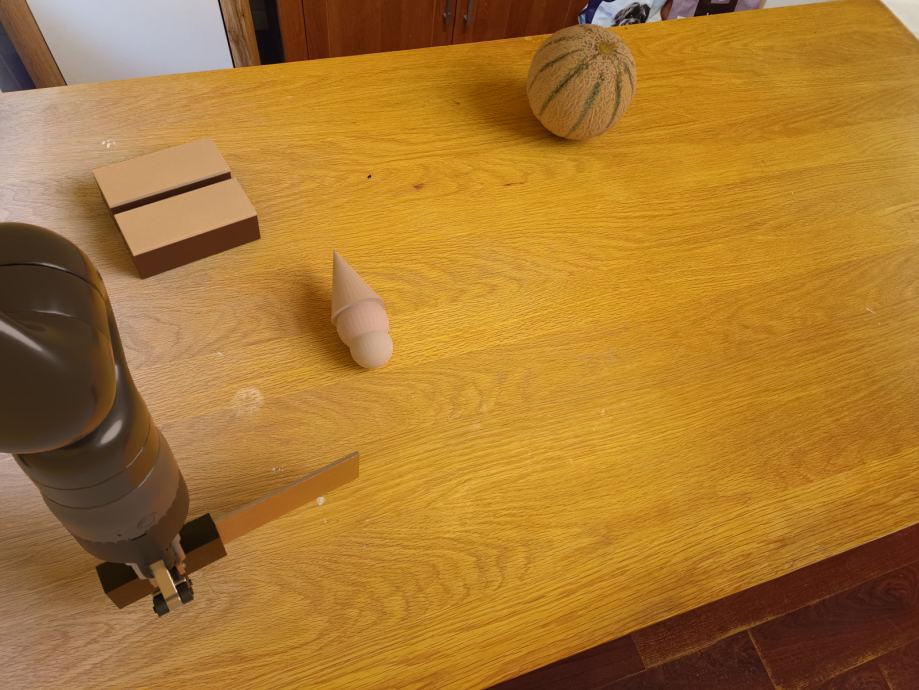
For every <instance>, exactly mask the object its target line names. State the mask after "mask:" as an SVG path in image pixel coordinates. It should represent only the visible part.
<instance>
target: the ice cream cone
mask: <svg viewBox="0 0 919 690" xmlns="http://www.w3.org/2000/svg"><path fill="white" fill-rule="evenodd" d="M332 252H333V253H332V280H331V281H332V282H331V285H332V286H331V311H330V313H331V314H330V315H331V316H330V319H331V320H330V323H331V325H332V326H333V327H335V328H336V331H337V334H338V337H339V340H341V341H342V343H343V344H344V345H345V346H347V347H348V348H349V352H350V356H351V357H352V359H353V361H355V363H356V364H357V365H359V366H360V367H362V368H365V369H369V370H371V369H373V370H374V369H375V370H376V369H378V368H381V367H383V366H385V365H386V364H387V363H388V362H389V360H390V359H391V358H392V355H393V353H394V342H393V339H392V337H391V334H389V331H390V320H389V315H388V313H387V311H386V309H385V308H386V302H385V301H384V300H383V299H382V297H381V296H380V295H379V294H378V293H377V292H376V290H374V289H373V288H372V287H371V286H370V285H369V284H368V283H367V282H366V281H365V280H364V279H363V277H362V276H361V275H360V274H359V273H358V272H357V271H356V270H355V269H354V268H353V267H352V266H351V265H350V264H349V263H348V262H347V260H345V259H344V258H343V256H341V255H340V254H339V253H338V251H337V250H335V249H334V248H333V250H332Z"/></svg>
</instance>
